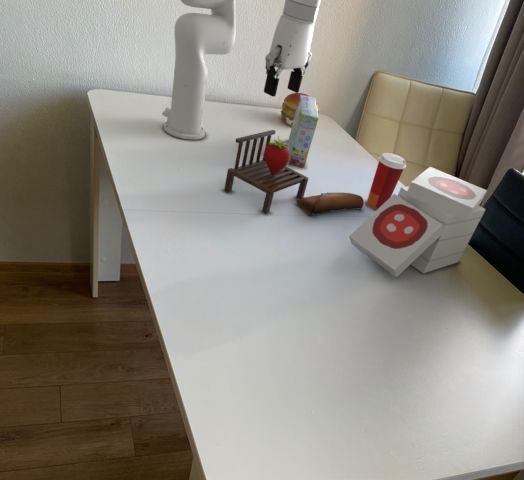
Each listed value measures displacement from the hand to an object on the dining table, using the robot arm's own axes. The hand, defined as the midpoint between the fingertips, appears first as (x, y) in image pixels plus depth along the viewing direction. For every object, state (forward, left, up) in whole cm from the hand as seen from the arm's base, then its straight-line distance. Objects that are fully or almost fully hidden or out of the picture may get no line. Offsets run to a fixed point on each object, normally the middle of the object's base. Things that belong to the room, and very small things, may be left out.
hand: (281, 92), depth 129 cm
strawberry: (+4, -2, -19) cm, 19 cm away
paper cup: (+24, +24, -25) cm, 42 cm away
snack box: (-10, +32, -25) cm, 42 cm away
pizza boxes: (+43, +5, -25) cm, 50 cm away
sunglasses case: (+17, +9, -25) cm, 31 cm away
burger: (-27, +57, -25) cm, 68 cm away
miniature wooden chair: (+3, -2, -25) cm, 25 cm away
